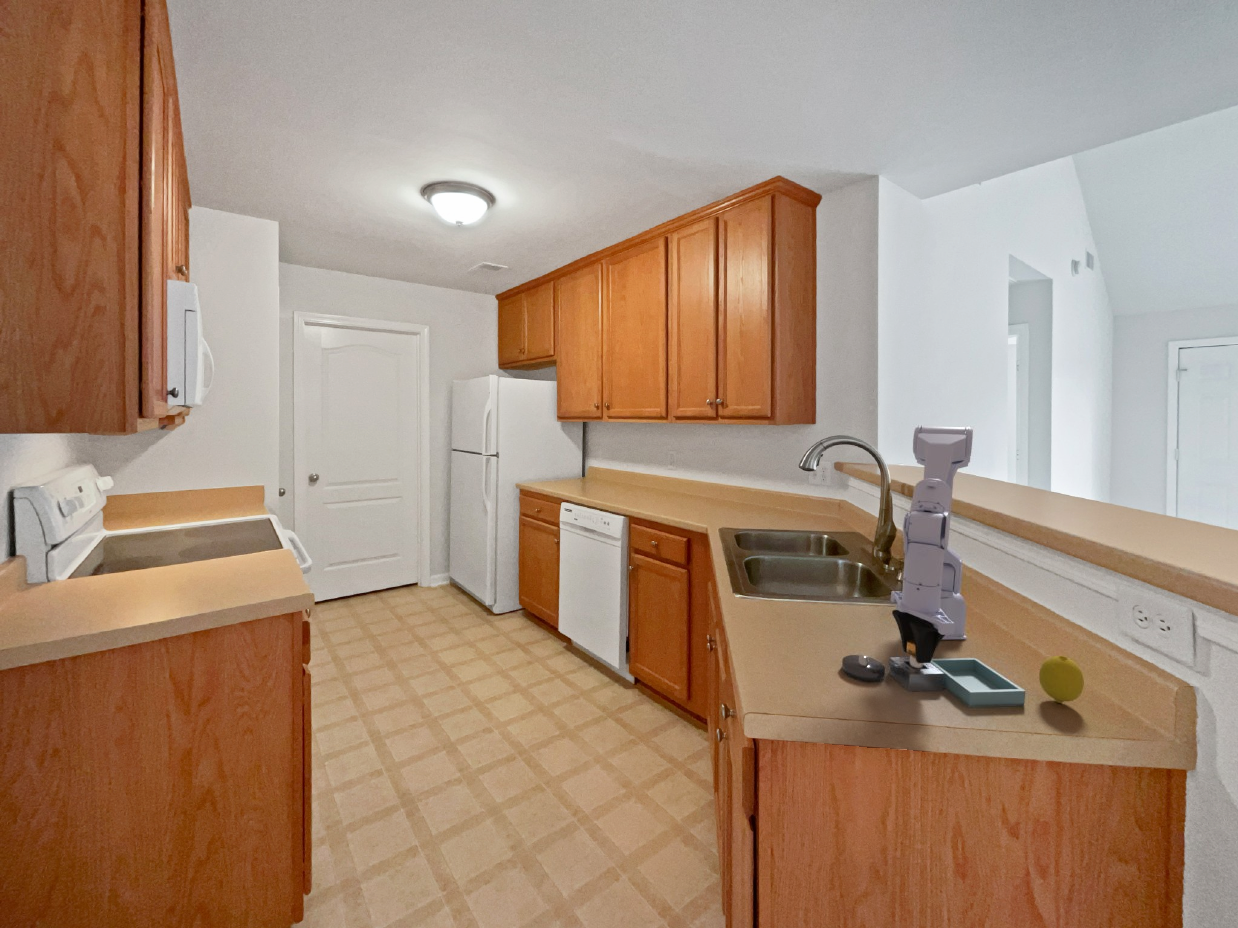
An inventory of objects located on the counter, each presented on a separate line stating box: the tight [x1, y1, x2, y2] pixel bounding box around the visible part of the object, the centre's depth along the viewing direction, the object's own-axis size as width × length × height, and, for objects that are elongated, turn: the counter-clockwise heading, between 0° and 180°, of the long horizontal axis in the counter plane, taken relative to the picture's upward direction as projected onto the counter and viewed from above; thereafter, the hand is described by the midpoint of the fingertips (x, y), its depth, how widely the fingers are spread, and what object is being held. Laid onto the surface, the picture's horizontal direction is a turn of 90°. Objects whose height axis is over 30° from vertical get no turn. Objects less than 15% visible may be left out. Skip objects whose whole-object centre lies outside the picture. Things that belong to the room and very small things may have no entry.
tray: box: [930, 657, 1026, 708], centre depth 91 cm, size 9×11×2 cm
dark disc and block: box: [841, 654, 944, 692], centre depth 95 cm, size 14×10×3 cm
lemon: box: [1038, 654, 1085, 704], centre depth 86 cm, size 6×6×8 cm
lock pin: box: [906, 639, 923, 669], centre depth 93 cm, size 3×3×7 cm
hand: (916, 656), depth 93 cm, fingers closed on lock pin, 3 cm apart
